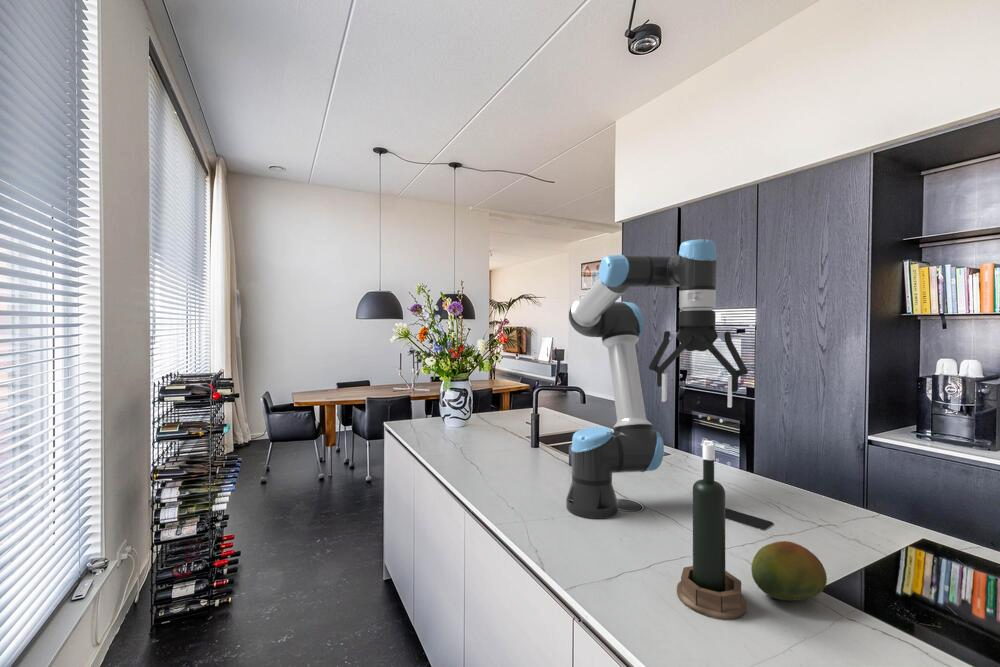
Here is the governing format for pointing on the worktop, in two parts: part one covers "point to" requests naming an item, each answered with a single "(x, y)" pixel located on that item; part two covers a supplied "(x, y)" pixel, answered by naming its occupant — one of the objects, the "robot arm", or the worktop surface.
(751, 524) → the smartphone
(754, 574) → the fruit
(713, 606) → the bowl
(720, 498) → the wine bottle
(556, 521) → the worktop surface
